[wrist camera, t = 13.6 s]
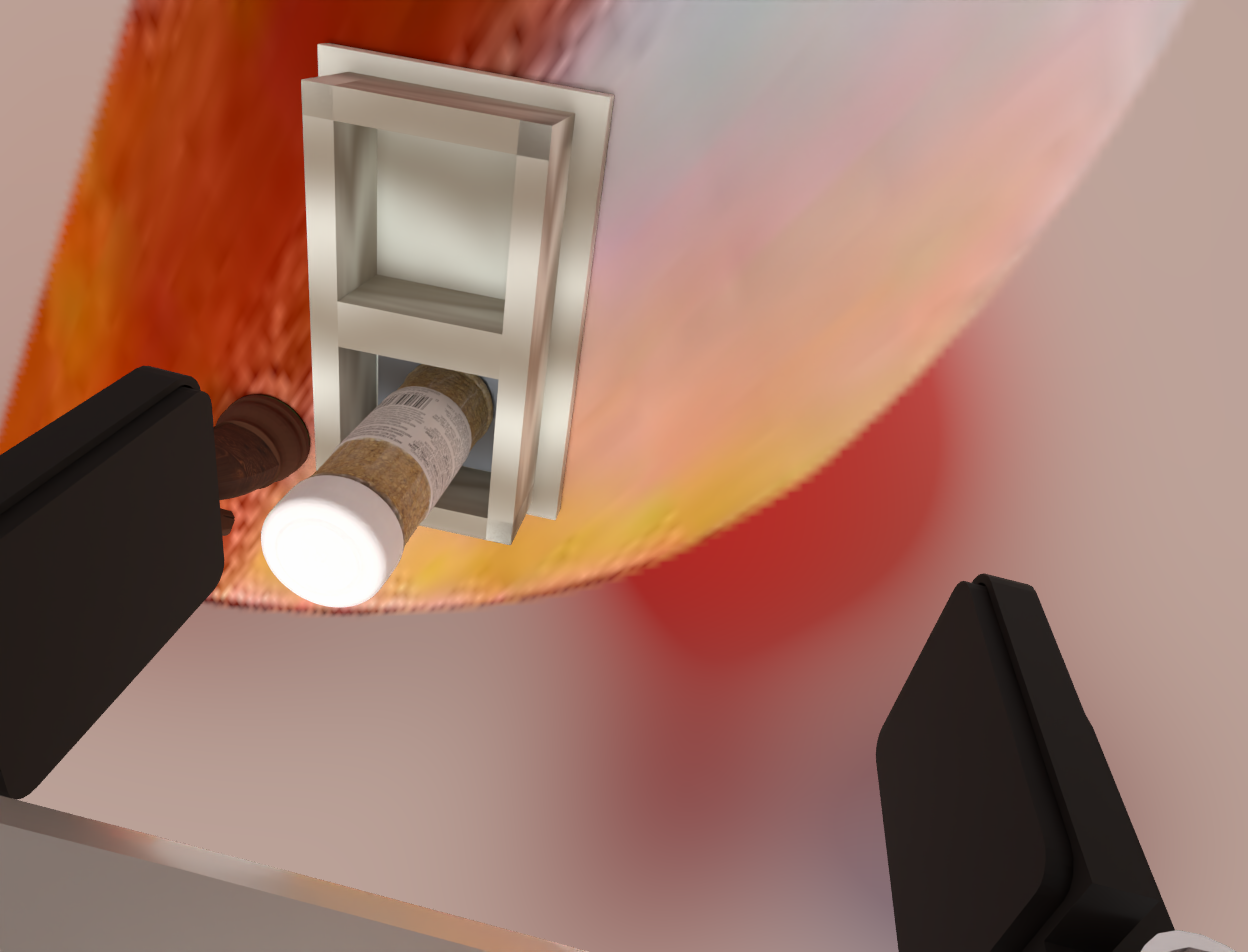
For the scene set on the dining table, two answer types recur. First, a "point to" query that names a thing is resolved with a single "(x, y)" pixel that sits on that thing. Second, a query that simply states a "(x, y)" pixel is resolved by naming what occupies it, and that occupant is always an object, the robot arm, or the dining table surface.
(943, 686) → the robot arm
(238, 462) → the chess piece
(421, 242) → the slot rack
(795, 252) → the dining table surface
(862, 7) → the dining table surface
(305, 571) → the sprinkles bottle
